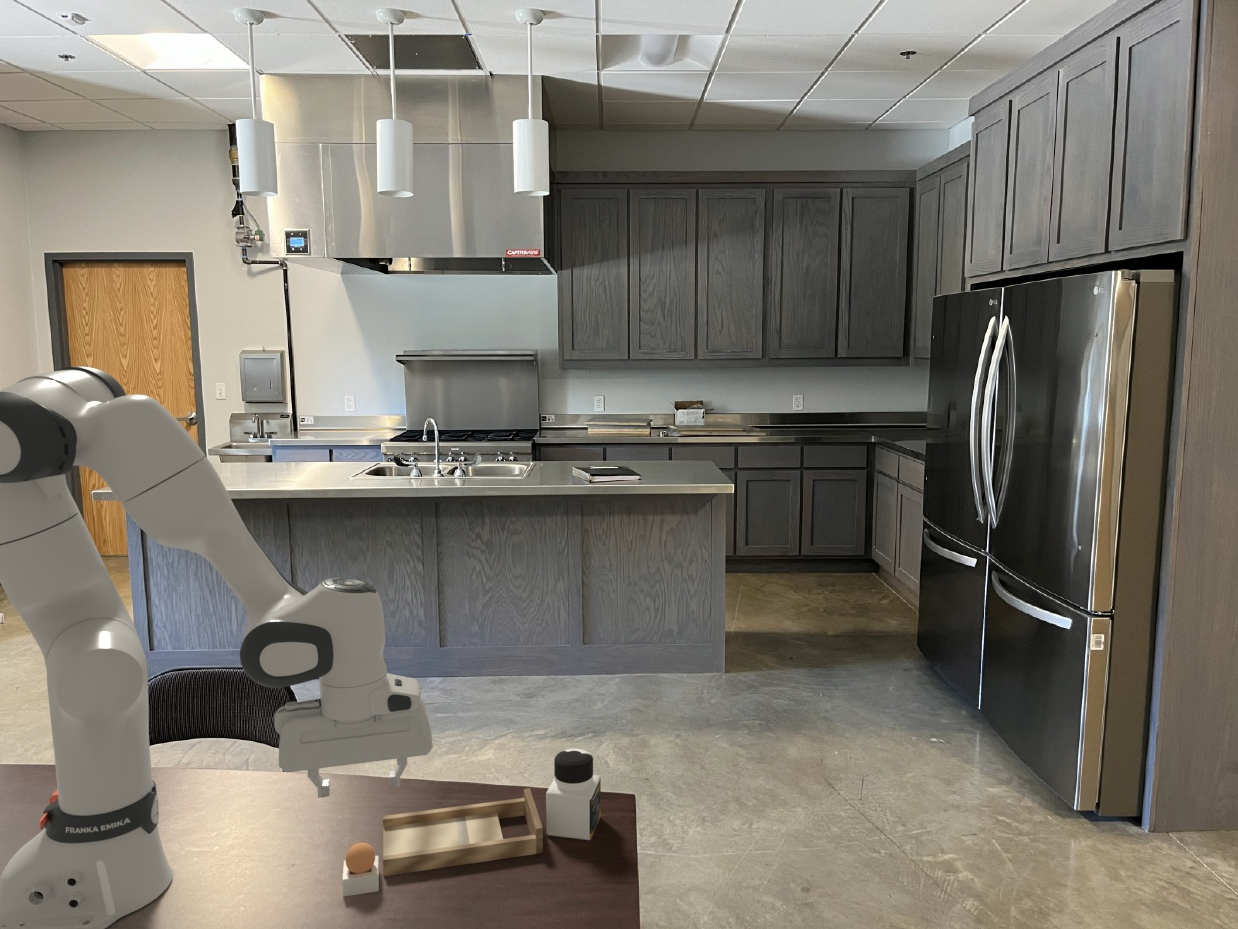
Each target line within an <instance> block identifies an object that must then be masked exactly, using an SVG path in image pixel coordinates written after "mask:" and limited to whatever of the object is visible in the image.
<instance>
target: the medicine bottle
mask: <svg viewBox="0 0 1238 929" xmlns="http://www.w3.org/2000/svg"><path fill="white" fill-rule="evenodd" d="M553 760H554V761H553V762H554V763H553V764H554V765H553V766H554V768H553V769H554V772H553V773H554V775H553V780H552V781H551V783H550V786H549V787H548V789H547V791H546V792H545V793H546V794H545V810H546V811H545V817H546V819H545V824H546V827H545V828H546V832H545V833H546V835H547V836H550V837H560V838H567V839H575V840H585V841H591V839H592V838H593V835H594V833H595V830H596V828H597V826H598V823H599V821H600V818H601V801H602V800H601V793H602V792H601V791H602V790H601V788H602V787H601V782H602V781H601V775H596V774H594V756H593V755H592V753H590V752H589V751H587V750H584V749H581V748H568V749H564V750H562V751H559V752H558V753H557V754H556V755H555V757H554V759H553Z"/></svg>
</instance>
